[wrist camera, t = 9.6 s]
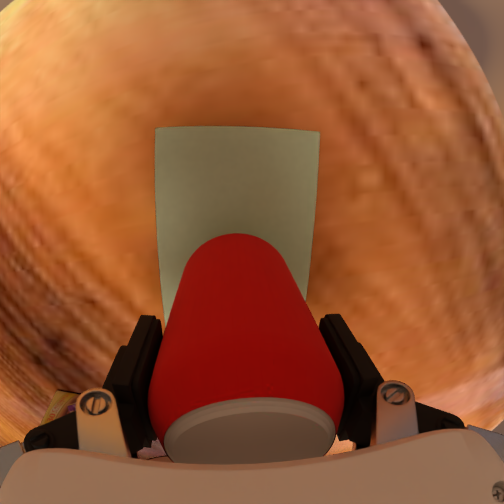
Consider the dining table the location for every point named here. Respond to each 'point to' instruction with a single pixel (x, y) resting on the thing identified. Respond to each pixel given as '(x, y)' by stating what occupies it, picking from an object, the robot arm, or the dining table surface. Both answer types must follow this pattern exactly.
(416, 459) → the robot arm
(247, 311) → the beverage can
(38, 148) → the dining table surface
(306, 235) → the mat
